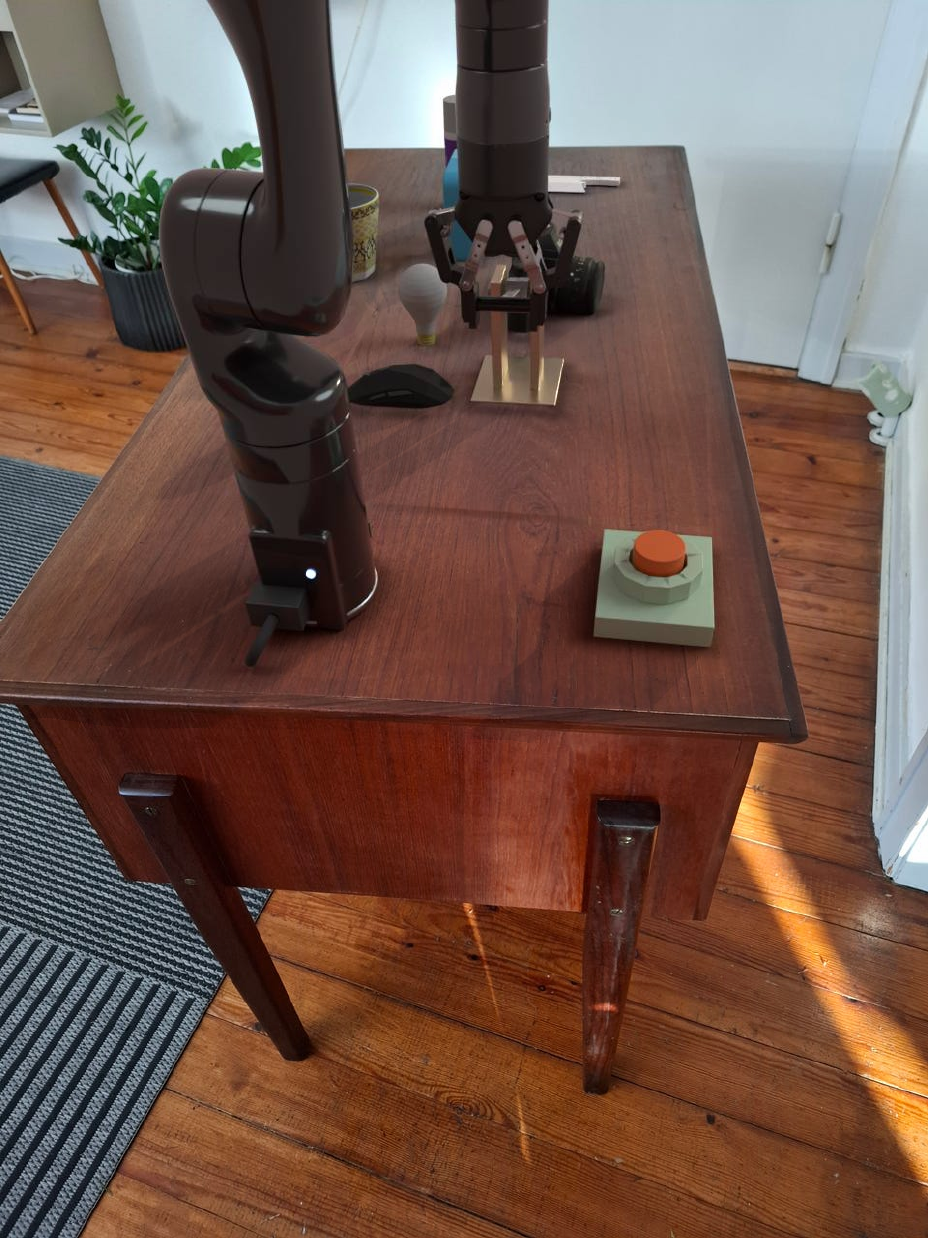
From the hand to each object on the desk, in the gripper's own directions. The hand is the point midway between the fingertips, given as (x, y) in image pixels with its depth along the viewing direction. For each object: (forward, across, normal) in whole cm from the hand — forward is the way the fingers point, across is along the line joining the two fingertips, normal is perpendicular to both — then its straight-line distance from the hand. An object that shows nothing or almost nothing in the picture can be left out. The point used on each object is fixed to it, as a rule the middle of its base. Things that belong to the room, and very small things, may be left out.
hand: (504, 326), depth 83 cm
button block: (+12, +16, -22) cm, 30 cm away
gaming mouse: (+12, -14, +6) cm, 19 cm away
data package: (+11, -12, +47) cm, 50 cm away
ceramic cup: (+12, -28, +40) cm, 50 cm away
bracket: (+12, 0, +10) cm, 15 cm away
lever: (+1, 0, +5) cm, 5 cm away
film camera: (+12, +2, +29) cm, 31 cm away
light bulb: (+12, -12, +18) cm, 25 cm away
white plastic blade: (+11, 0, +73) cm, 74 cm away
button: (+9, +15, -22) cm, 28 cm away
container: (+11, -16, +64) cm, 67 cm away
